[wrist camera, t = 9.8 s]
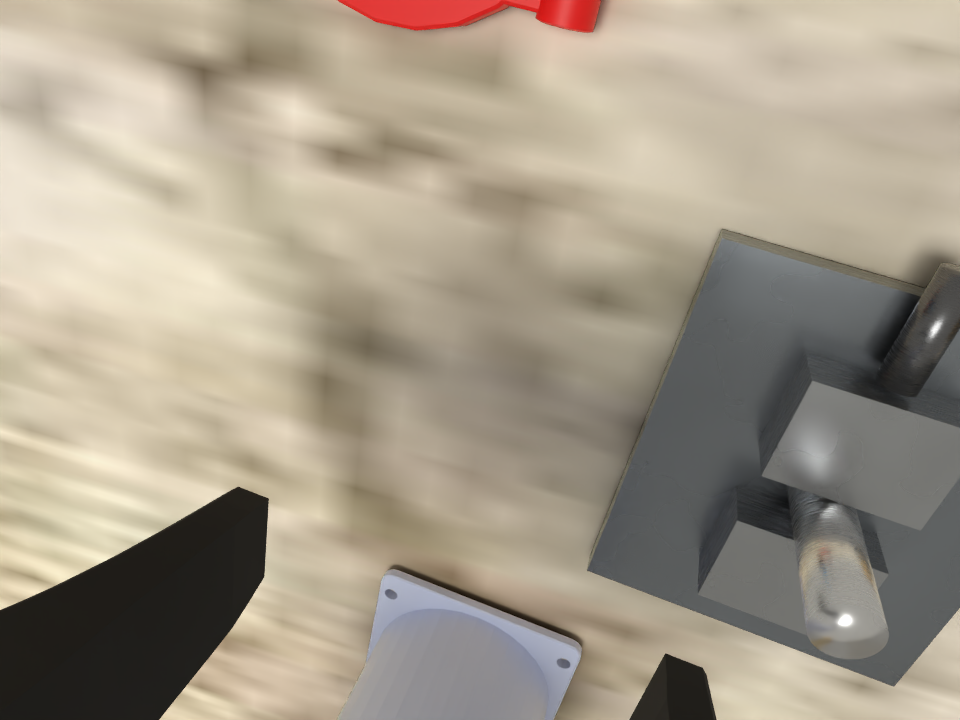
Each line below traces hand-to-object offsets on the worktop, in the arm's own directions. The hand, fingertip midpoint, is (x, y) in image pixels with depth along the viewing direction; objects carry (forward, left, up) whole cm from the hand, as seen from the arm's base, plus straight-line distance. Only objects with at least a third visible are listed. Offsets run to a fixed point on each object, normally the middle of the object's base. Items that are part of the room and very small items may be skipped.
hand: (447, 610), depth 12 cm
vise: (-1, -8, -10) cm, 13 cm away
